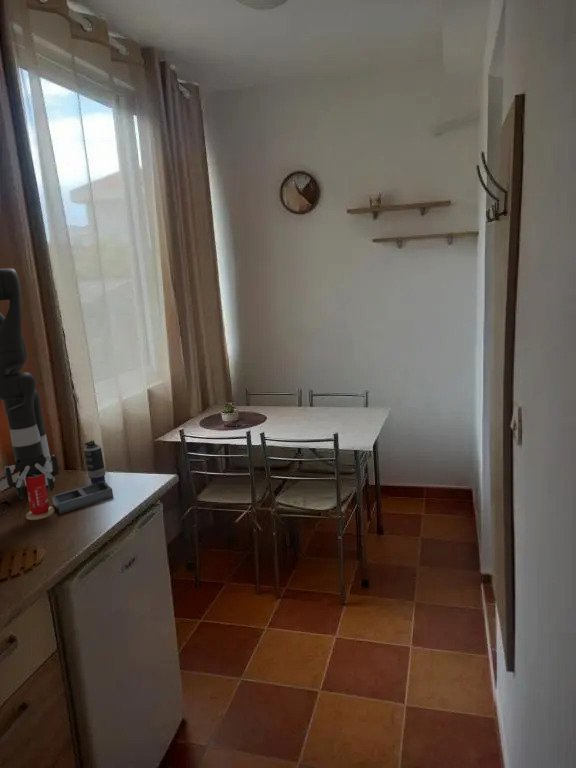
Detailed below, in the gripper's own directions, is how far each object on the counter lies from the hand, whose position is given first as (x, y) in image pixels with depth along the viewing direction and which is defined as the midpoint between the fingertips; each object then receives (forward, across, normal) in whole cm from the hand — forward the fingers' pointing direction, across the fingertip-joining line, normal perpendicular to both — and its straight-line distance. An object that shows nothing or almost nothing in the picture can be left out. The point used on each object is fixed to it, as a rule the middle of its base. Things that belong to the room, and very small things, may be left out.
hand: (36, 494), depth 160 cm
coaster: (+6, 0, 0) cm, 6 cm away
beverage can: (+6, 0, 0) cm, 6 cm away
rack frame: (+6, -12, 0) cm, 14 cm away
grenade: (+7, -20, -13) cm, 25 cm away
